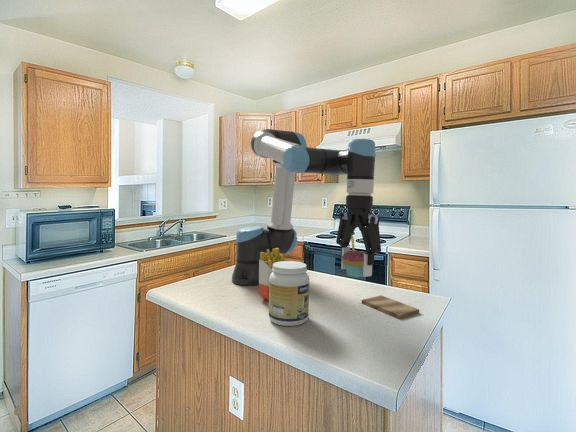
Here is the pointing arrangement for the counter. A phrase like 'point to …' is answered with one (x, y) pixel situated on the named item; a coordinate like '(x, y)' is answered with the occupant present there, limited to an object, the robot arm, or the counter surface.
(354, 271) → the cupcake
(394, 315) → the cutting board
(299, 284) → the supplement tub
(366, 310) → the counter surface
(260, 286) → the french fries container
